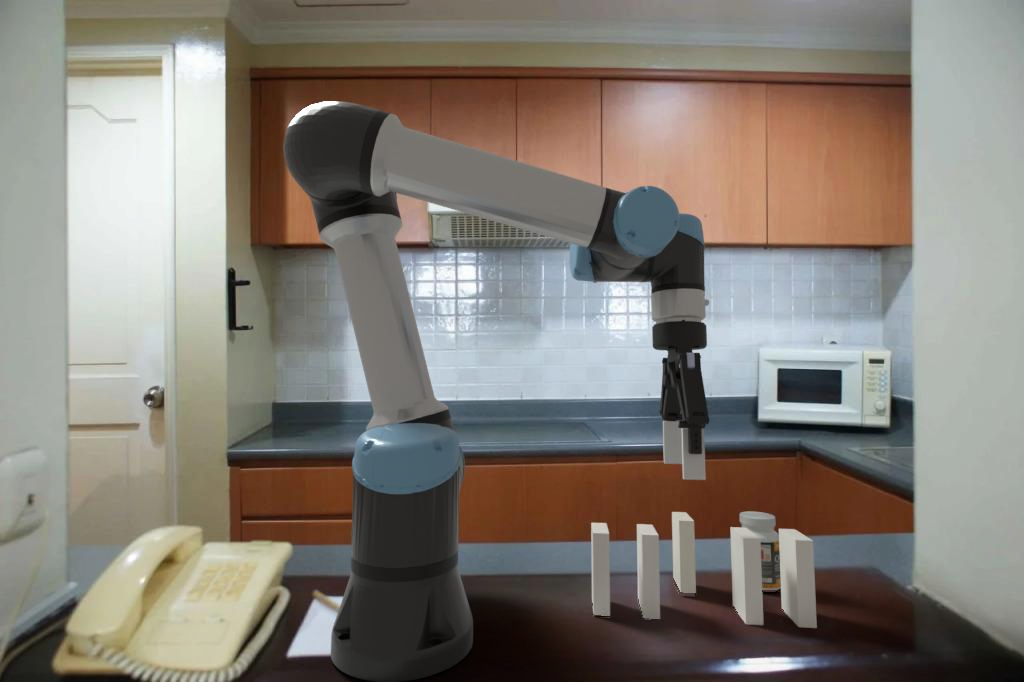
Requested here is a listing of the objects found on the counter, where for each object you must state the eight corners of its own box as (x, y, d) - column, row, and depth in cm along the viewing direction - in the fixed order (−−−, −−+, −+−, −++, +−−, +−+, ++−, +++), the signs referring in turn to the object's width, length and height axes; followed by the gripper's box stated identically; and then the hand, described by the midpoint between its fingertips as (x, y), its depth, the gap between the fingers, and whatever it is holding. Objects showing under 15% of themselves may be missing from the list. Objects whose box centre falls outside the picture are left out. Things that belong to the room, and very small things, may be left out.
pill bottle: (788, 596, 70) (785, 521, 71) (743, 592, 71) (740, 518, 72) (775, 580, 76) (773, 511, 77) (734, 577, 77) (732, 509, 78)
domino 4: (746, 624, 62) (743, 538, 63) (732, 606, 67) (730, 527, 68) (763, 625, 62) (760, 538, 62) (748, 607, 67) (746, 527, 67)
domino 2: (643, 619, 63) (642, 534, 64) (637, 602, 68) (636, 524, 69) (660, 619, 63) (658, 535, 64) (653, 602, 68) (652, 524, 69)
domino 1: (593, 616, 64) (593, 533, 65) (591, 599, 69) (591, 522, 70) (610, 617, 64) (609, 533, 64) (607, 600, 68) (606, 523, 69)
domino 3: (680, 596, 70) (679, 520, 71) (673, 582, 75) (671, 511, 76) (696, 597, 70) (694, 521, 70) (687, 583, 75) (685, 512, 75)
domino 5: (798, 627, 61) (795, 540, 62) (781, 609, 66) (778, 528, 67) (816, 628, 61) (813, 540, 62) (798, 609, 66) (794, 529, 67)
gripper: (732, 309, 63) (738, 488, 61) (686, 331, 87) (689, 458, 86) (668, 310, 63) (673, 487, 62) (640, 331, 88) (643, 458, 86)
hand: (682, 471), depth 74 cm, fingers open, 13 cm apart
